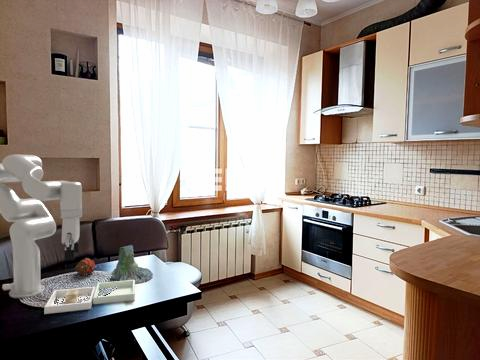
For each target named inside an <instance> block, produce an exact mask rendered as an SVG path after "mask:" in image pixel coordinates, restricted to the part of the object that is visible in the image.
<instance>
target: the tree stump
mask: <svg viewBox="0 0 480 360" xmlns="http://www.w3.org/2000/svg"><path fill="white" fill-rule="evenodd" d="M134 251H135V250H134V246H133V244H131V245H127V246H122V247H119V252H118V262H117V263H116V266H115V268H114V269H113V271H111V273H110V274H111V277H112V279H114V281H126V280H135V285H136V284H143V283H146V282H147V281H150V280H151V279H153V276H154V274H153V272H152V271H151V269H149V268H146V267H141V266H139V265H138V263H137V262H136V261H135V257H134V256H135V253H134Z"/></svg>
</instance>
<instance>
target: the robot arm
mask: <svg viewBox="0 0 480 360" xmlns="http://www.w3.org/2000/svg"><path fill="white" fill-rule="evenodd" d="M43 177H44V170H43V162H42V159H41V158H40V157H38V156H37V155H34V154H19V153H18V154H17V153H16V154H9V155H7V156H6V157H5V158H3V159H2V161H1V163H0V214H1V216H2V217H3V219H4V220H5V221H6V222H8V223H12V224H11V225H10V228H9V237H10V240H11V245H12V262H13V267H12V268H13V282H11V283H4V284H2V287H1V288H2V290H3V291H9V292H8V295H9V297H11V298H13V299H23V298H29V297H33V296H36V295H39V294H41V293H43V292H44V291H45V289H46V288H45V285H44V284H42V283H41V251H40V247H39V246H38V245H37V243H36V242H35V241H36V240H40V239H44V238H49V237H51V236H53V235H55V233H56V230H57V223H56V221H55V219H54V217H53V216H52V215H51V213H50V212H49V210H48V208H47V207H46V205H44V203H43V202H46V201H55V200H60V209H59V210H60V219H62V223H61V244H62V245H64V260H65V261H74V260H75V254H76V253H78V254H79V252H80V244H79V239H80V235H81V234H80V232H81V231H80V230H81V229H80V228H81V227H80V218H82V217H83V187H82V186H83V185H82V183H81V182H78V181H68V180H47V181H41V180H43ZM18 182H21V185H22V188H23V190H24V192H25V193H26V195H28V196H29V198H21V197H19V196H18V195H17V194H16V192H15V191H14V190H13V189H12V188H11V187H9V186H8V185H6V184H5V183H18ZM30 197H31V198H30Z"/></svg>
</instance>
